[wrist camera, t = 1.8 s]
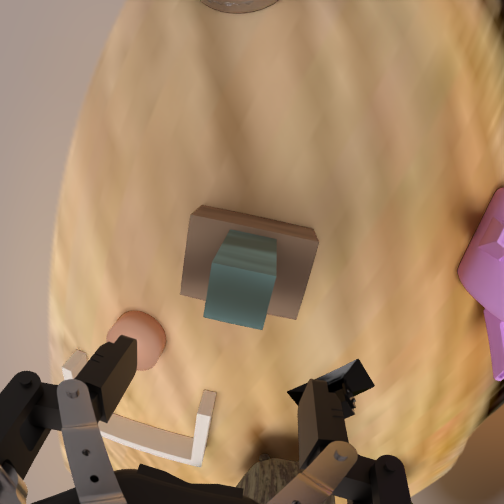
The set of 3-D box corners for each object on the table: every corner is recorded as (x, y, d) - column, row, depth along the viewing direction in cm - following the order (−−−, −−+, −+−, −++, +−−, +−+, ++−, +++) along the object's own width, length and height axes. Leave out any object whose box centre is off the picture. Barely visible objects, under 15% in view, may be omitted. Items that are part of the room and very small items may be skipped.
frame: (76, 349, 35) (61, 367, 31) (216, 392, 34) (210, 416, 31) (88, 408, 39) (77, 425, 35) (206, 446, 39) (201, 467, 35)
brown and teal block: (202, 204, 27) (158, 241, 17) (313, 228, 27) (334, 279, 17) (191, 275, 30) (151, 341, 19) (294, 298, 30) (300, 374, 19)
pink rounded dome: (117, 304, 32) (105, 317, 29) (167, 318, 32) (158, 333, 29) (118, 346, 34) (108, 360, 31) (165, 360, 34) (157, 376, 31)
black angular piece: (298, 420, 36) (299, 447, 32) (269, 387, 34) (267, 416, 30) (387, 381, 33) (396, 407, 29) (366, 342, 31) (377, 368, 27)
